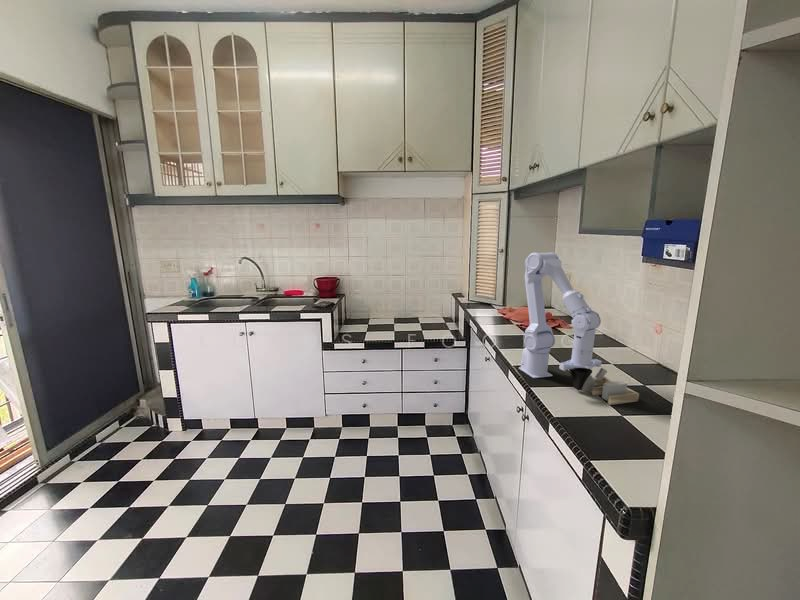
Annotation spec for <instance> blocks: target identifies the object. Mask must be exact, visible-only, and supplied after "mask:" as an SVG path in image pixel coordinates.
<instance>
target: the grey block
mask: <svg viewBox="0 0 800 600" xmlns="http://www.w3.org/2000/svg"><path fill="white" fill-rule="evenodd" d="M602 386H603V392H602V395H601V399H602V400H605V401H607V402H608V397H609V396H614V395H622V394H626V389H627V388H628V383H626V382H625V381H622V380H618V381H615V382H610V383H604V384H602Z"/></svg>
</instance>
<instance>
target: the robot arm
mask: <svg viewBox="0 0 800 600" xmlns="http://www.w3.org/2000/svg"><path fill="white" fill-rule="evenodd" d="M524 265H525V272H524V283H525V293H526V301H527V308H528V309H527V310H528V318H529V319H528V320H529V325H528V326H527V328H526V329H525V331H524V334H525V336H524V340H523V342H524V346H525V347H524V349H523V350H522V352H521V359H520V360H521V363H520V366H519V367H518V370H520V371H522V372H523V373H525V374H526V375H528V376H529V377H531V378H532V379H539V378H549V377H553V374H551V373H550V372H549V371H548V368H549V359H550V352H551V349H552V348H553V347H554V346H555V344H556V337H555V335H554V333H553V329H552V327H551V326H550V325H549V324H548V323H547V317H546V310H545V309H546V308H545V302H544V301H545V300H544V293H543V284H542V280H543V279H544V278H545V276H548V277H550V279H552V281H553V282H554V284H555V286H556V287H557V288H558V289H559V291H560V292H561V294H562V299H561V301H562V302H563V304H564V306H565V307H566V309H567V310H568V313H569V315H570V316H571V318H572V319H571V325H572V327H573V335H574V336H573V340H572V341H573V342H572V351H571V359H569V360H567V361H566V360H565V361H563V362H559V370H560V371H563V372H566V371H567V370H568V371H569V373H570V376H571V380H572V383H573V384H572V386H573V389H575V390H577V391H581V390H582V387H583V385H584V383H585V381H586V380H587V378H588V377H589V376H590V375H592V374H593V370H592V369H593V368H594V367H598V368H600V367H601V368H602V360H600V359H596V358H593V351H594V345H595V335H596V331H597V329H598V328H599V327H600V325H601V321H602V319H601V316H600V314H599V313H598V312H596V311H594V310H593V309H592V308H591V307H590V306H589V304H588V303H587V302H586V300H585V299H584V297H585V296H584V294H583V293H581V292H580V291H578V290H575V289H574V288H573V286H572V284H571V282H570V280H569V278H568V276H567V275H566V273H565V270H564V268H563V267H562V260H561V259H560V258H559V256H558V254H557V253H555V252H554V251H550V252H532V253H530V254H529V255H528V256H527V257H526V258H525V260H524Z"/></svg>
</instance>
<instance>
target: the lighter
mask: <svg viewBox="0 0 800 600" xmlns="http://www.w3.org/2000/svg"><path fill="white" fill-rule="evenodd" d="M607 373H608V371H607V369H605V368H604V367H601V368H600V369H599V370H598V372H597V373H596V374H595V376H593V375H592V374H591V375H590V376H589V377H588V378H587V380H586V381H585V383H584V385H583V387H582V390H580V391H583V392H591V393H592V388H593V387H596V385H595V382H596V380H598V381H601V379H602V378H603V377H604V376H605V375H606V374H607Z"/></svg>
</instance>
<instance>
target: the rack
mask: <svg viewBox="0 0 800 600" xmlns="http://www.w3.org/2000/svg"><path fill="white" fill-rule="evenodd" d="M610 382H616V381H615V380H612V379H611V378H609V377H606V376H605V375H604V377H603V378H602V379H601V381H598V380H596V382H595V387H593V388H592V392H591V396H602V392H603V385H604V383H610ZM601 385H602V386H601ZM639 398H640V393H639V392H637V391H635V390H632V389H631V388H629V387H627V389H626V394H622V395H614V396H609V397H608V401H607V405H608V406H611V405H612V406H614V405H621V404H626V403H627V404H628V403H634V402H638V401H639Z"/></svg>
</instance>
